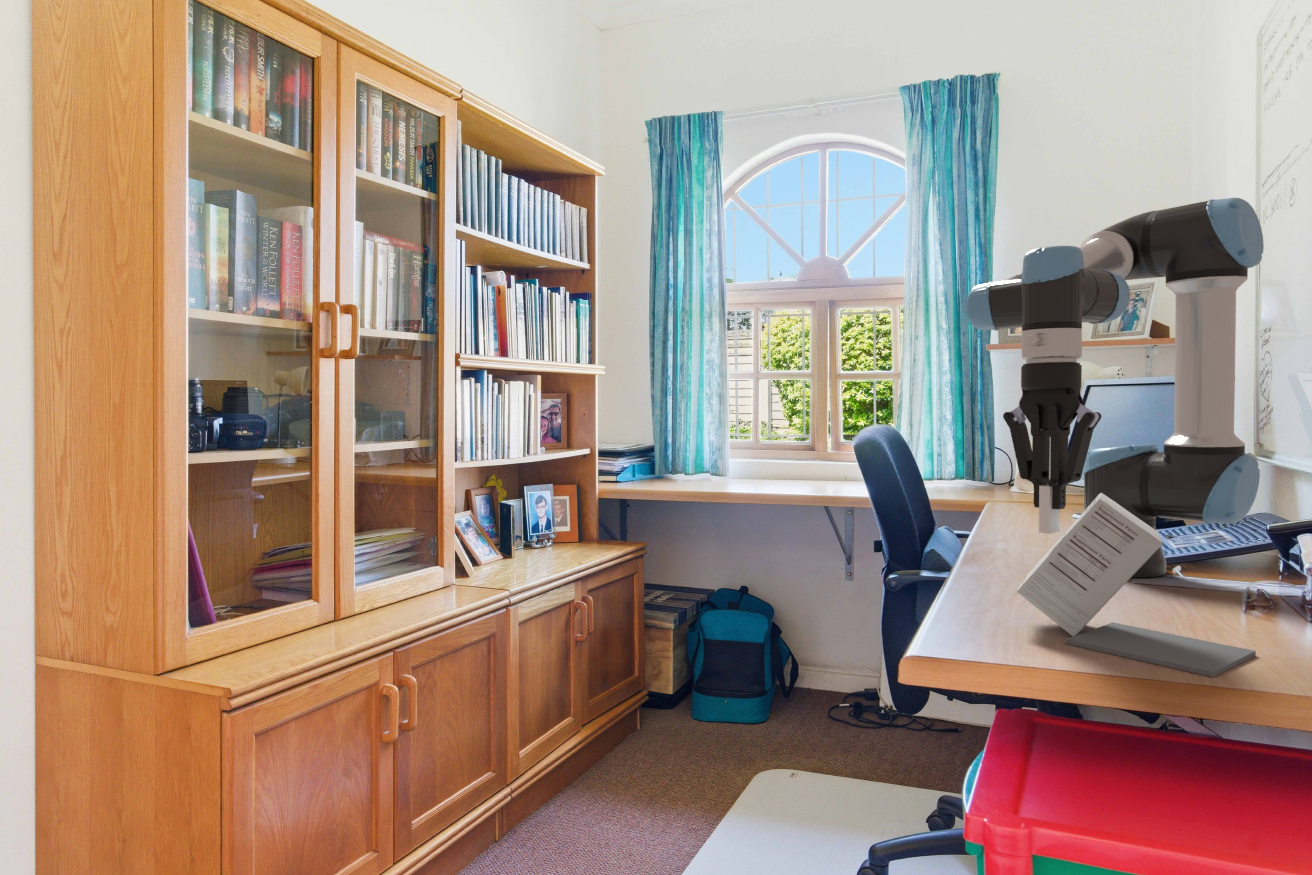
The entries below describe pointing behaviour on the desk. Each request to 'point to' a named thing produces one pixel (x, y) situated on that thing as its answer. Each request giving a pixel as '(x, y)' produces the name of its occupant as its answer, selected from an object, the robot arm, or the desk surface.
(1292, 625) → the desk surface
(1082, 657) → the desk surface
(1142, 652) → the mat
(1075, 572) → the supplement box
